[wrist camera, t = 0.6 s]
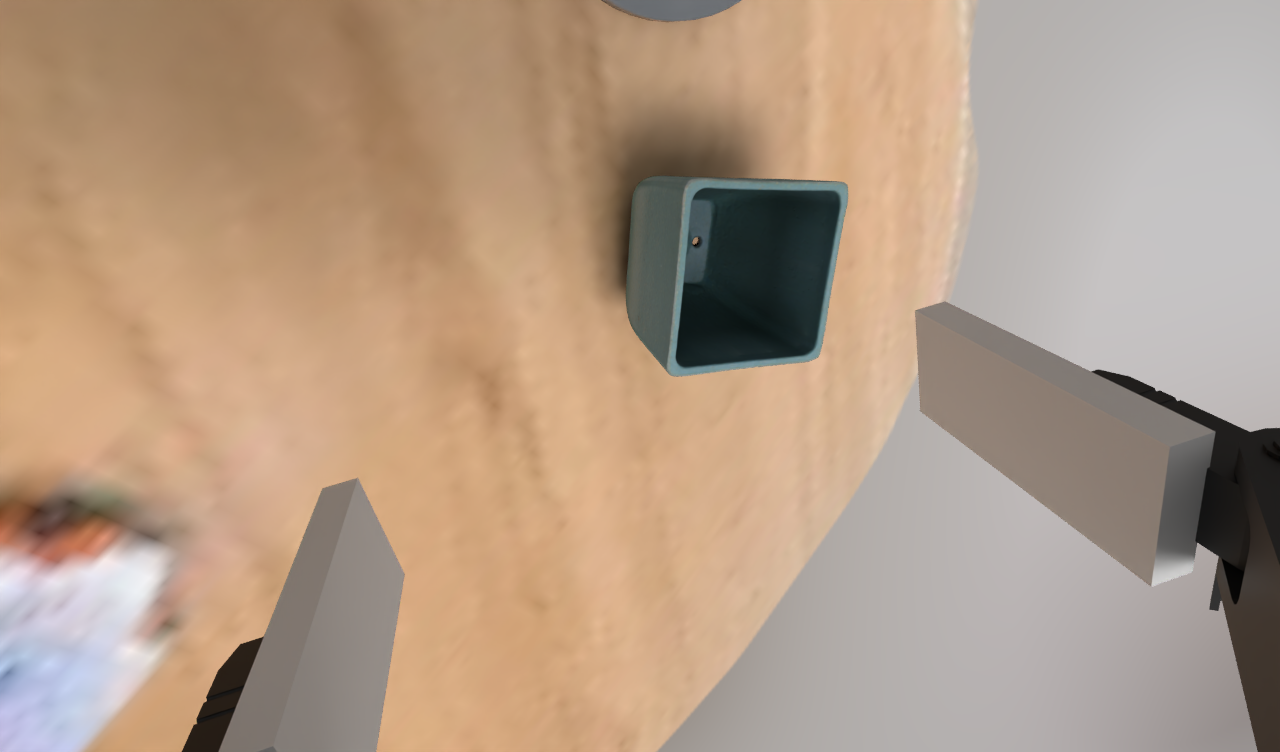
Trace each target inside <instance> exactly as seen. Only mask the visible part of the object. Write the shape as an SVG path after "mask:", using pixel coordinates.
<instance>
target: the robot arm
mask: <svg viewBox="0 0 1280 752" xmlns="http://www.w3.org/2000/svg"><path fill="white" fill-rule="evenodd" d="M915 317H916V336H917V355H918V375H919V394H920V411H921V412H922V413H923V414H925V415H926V416H928V417H929V418H930V419H931V420H933V421H934V422H935V423H937V424H938V425H939V426H941V427H942V428H943V429H944V430H946V431H947V432H949V433H950V434H951V435H953V436H954V437H955V438H956V439H958V440H959V441H960V442H962V443H963V444H964V445H966V446H967V447H968V448H969V449H971V450H972V451H973V452H975V453H976V454H977V455H979V456H980V457H981V458H983V459H984V460H985V461H987V462H988V463H989V464H990V465H992V466H993V467H994V468H996V469H997V470H998V471H1000V472H1001V473H1002V474H1004V475H1005V476H1006V477H1008V478H1009V479H1010V480H1012V481H1013V482H1014V483H1015V484H1017V485H1018V486H1019V487H1021V488H1022V489H1023V490H1025V491H1026V492H1027V493H1029V494H1030V495H1031V496H1033V497H1034V498H1035V499H1037V500H1038V501H1039V502H1040V503H1042V504H1043V505H1045V506H1046V507H1047V508H1048V509H1050V510H1051V511H1052V512H1054V513H1055V514H1056V515H1058V516H1059V517H1060V518H1061V519H1063V520H1064V521H1065V522H1067V523H1068V524H1069V525H1071V526H1072V527H1073V528H1075V529H1076V530H1077V531H1079V532H1080V533H1081V534H1083V535H1084V536H1085V537H1087V538H1088V539H1089V540H1090V541H1092V542H1093V543H1094V544H1096V545H1097V546H1098V547H1100V548H1101V549H1102V550H1104V551H1105V552H1106V553H1108V554H1109V555H1110V556H1111V557H1113V558H1114V559H1116V560H1117V561H1118V562H1119V563H1121V564H1122V565H1123V566H1125V567H1126V568H1127V569H1129V570H1130V571H1131V572H1133V573H1134V574H1135V575H1137V576H1138V577H1139V578H1140V579H1142V580H1143V581H1144V582H1146V583H1147V584H1148V585H1150V586H1151V587H1152V586H1155V585H1158V584H1160V583H1163V582H1166V581H1169V580H1172V579H1175V578H1177V577H1180V576H1183V575H1186V574H1189V573H1191V572H1192V571H1193V565H1194V558H1195V553H1196V547H1197V543H1199V544H1201V545H1202V546H1204V547H1205V548H1207V549H1208V550H1210V551H1211V552H1213V553H1214V554H1216V555H1218V556H1219V559H1218V563H1217V569H1216V574H1215V580H1214V585H1213V591H1212V596H1211V603H1210V610H1216V611H1218V609H1219V605H1220V601H1222V602H1223V606H1224V610H1225V615H1226V619H1227V624H1228V628H1229V632H1230V636H1231V640H1232V645H1233V649H1234V653H1235V657H1236V661H1237V666H1238V670H1239V674H1240V678H1241V683H1242V686H1243V691H1244V695H1245V700H1246V703H1247V708H1248V712H1249V716H1250V720H1251V725H1252V729H1253V733H1254V737H1255V741H1256V746H1257V750H1258V752H1280V428H1267V429H1266V428H1265V429H1261V430H1258V431H1253V432H1249V431H1247V430H1244V429H1242V428H1240V427H1238V426H1236V425H1233V424H1231V423H1229V422H1227V421H1225V420H1223V419H1221V418H1218V417H1216V416H1214V415H1212V414H1210V413H1207V412H1205V411H1203V410H1201V409H1199V408H1196V407H1194V406H1192V405H1190V404H1188V403H1186V402H1184V401H1181V400H1180V401H1177V400H1176V399H1175V397H1173V396H1171V395H1168V394H1166V393H1164V392H1162V391H1156V390H1155V388H1153V387H1151V386H1149V385H1147V384H1144V383H1142V382H1140V381H1138V380H1135V379H1134V378H1131V377H1129V376H1124V375H1120V374H1116V373H1111V372H1107V371H1102V370H1095V371H1092V372H1090V371H1088V370H1086V369H1084V368H1082V367H1080V366H1078V365H1076V364H1073V363H1072V362H1070V361H1068V360H1065V359H1064V358H1061V357H1059V356H1057V355H1055V354H1053V353H1051V352H1049V351H1047V350H1045V349H1043V348H1041V347H1038V346H1036V345H1034V344H1032V343H1030V342H1028V341H1026V340H1024V339H1022V338H1020V337H1018V336H1015V335H1014V334H1012V333H1009V332H1007V331H1005V330H1003V329H1001V328H999V327H997V326H995V325H993V324H991V323H989V322H987V321H984V320H982V319H980V318H978V317H976V316H974V315H972V314H970V313H968V312H966V311H964V310H962V309H960V308H958V307H955V306H953V305H951V304H949V303H947V302H942V303H938V304H935V305H932V306H928V307H925V308H922V309H918V310H915ZM404 575H405V574H404V572H403V570H402V568H401V566H400V564H399V562H398V560H397V558H396V555H395V553H394V551H393V549H392V547H391V545H390V543H389V541H388V539H387V537H386V535H385V533H384V531H383V529H382V527H381V525H380V523H379V520H378V518H377V516H376V514H375V512H374V510H373V508H372V506H371V504H370V502H369V500H368V498H367V496H366V494H365V492H364V490H363V488H362V485H361V483H360V481H359V479H358V478H356V479H353V480H349V481H346V482H343V483H339V484H336V485H333V486H329V487H326V488H323V489H322V491H321V493H320V496H319V499H318V501H317V504H316V506H315V509H314V511H313V514H312V516H311V519H310V521H309V524H308V526H307V529H306V531H305V534H304V537H303V539H302V542H301V544H300V547H299V549H298V552H297V554H296V557H295V559H294V562H293V564H292V567H291V569H290V572H289V575H288V577H287V580H286V582H285V585H284V587H283V590H282V592H281V595H280V597H279V600H278V602H277V605H276V607H275V610H274V613H273V615H272V618H271V620H270V623H269V625H268V628H267V630H266V633H265V635H264V637H262V638H258V639H255V640H252V641H249V642H246V643H243V644H240V645H239V646H238V648H237V649H236V650H235V651H234V652H233V654H232V655H231V656H230V657H229V659H228V660H227V661H226V662H225V663H224V665H223V666H222V667H221V668H220V669H219V671H218V672H217V675H216V677H215V679H214V681H213V683H212V686H211V688H210V690H209V692H208V695H207V697H206V698H207V702H205V703H203V706H202V708H201V710H200V712H199V715H198V717H197V719H196V720H197V724H195V725H194V726H193V728H192V730H191V732H190V735H189V737H188V739H187V741H186V744H185V746H184V748H183V750H182V752H376V749H377V743H378V737H379V730H380V724H381V718H382V712H383V705H384V699H385V693H386V687H387V681H388V674H389V668H390V662H391V656H392V649H393V643H394V637H395V631H396V624H397V618H398V612H399V606H400V599H401V593H402V587H403V581H404Z"/></svg>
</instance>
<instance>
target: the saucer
mask: <svg viewBox="0 0 1280 752" xmlns="http://www.w3.org/2000/svg"><path fill="white" fill-rule="evenodd" d="M602 1H603V2H605V3H607V4H608V5H610V6H611V7H613V8H615V9H617V10H620V11H622V12H624V13H627V14H629V15H631V16H635V17H639V18H642V19H646V20H651V21H661V22H675V21H687V20H695V19H699V18H704V17H708V16H712V15H714V14H716V13H719V12H721V11H724V10H726V9H728V8H730V7H731V6H733V5H735V4H736V3H738V2H739V1H741V0H602Z"/></svg>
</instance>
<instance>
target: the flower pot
mask: <svg viewBox="0 0 1280 752" xmlns="http://www.w3.org/2000/svg"><path fill="white" fill-rule="evenodd" d="M847 203H848V186H847V184H845V183H843V182H837V181H814V180H790V179H753V178H713V177H678V176H653V177H648V178H646V179H644V180H642V181H641V182H640V183H639V184H638V185H637V187H636V189H635V191H634V193H633V198H632V207H631V224H630V240H629V256H628V268H627V285H626V306H627V313H628V318H629V321H630V324H631V326H632V328H633V330H634V332H635V333H636V335H637V336H638V337H639V339H640V340H641V341H642V343H643V344H644V345H645V346H646V347H647V349H648V350H649V351H650V352H651V353H652V354H653V356H654V357H655V358H656V359H657V360H658V362H659V363H660V364H661V365H662V366H663V367H664V368H665V370H666V371H667V372H668V374H670V375H671V376H676V377H678V376H689V375H697V374H705V373H712V372H719V371H726V370H736V369H745V368H752V367H763V366H773V365H781V364H782V365H784V364H792V363H803V362H809V361H812V360H814V359H816V358H818V357H819V355H820V352H821V348H822V344H823V337H824V332H825V326H826V321H827V314H828V308H829V300H830V295H831V289H832V283H833V278H834V272H835V266H836V260H837V255H838V249H839V243H840V238H841V232H842V228H843V222H844V217H845V213H846V208H847ZM695 237H698V238H699V239H700V242H699V244H698V245H697V246H694V245H693V244H692V241H693V239H694V238H695Z"/></svg>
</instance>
